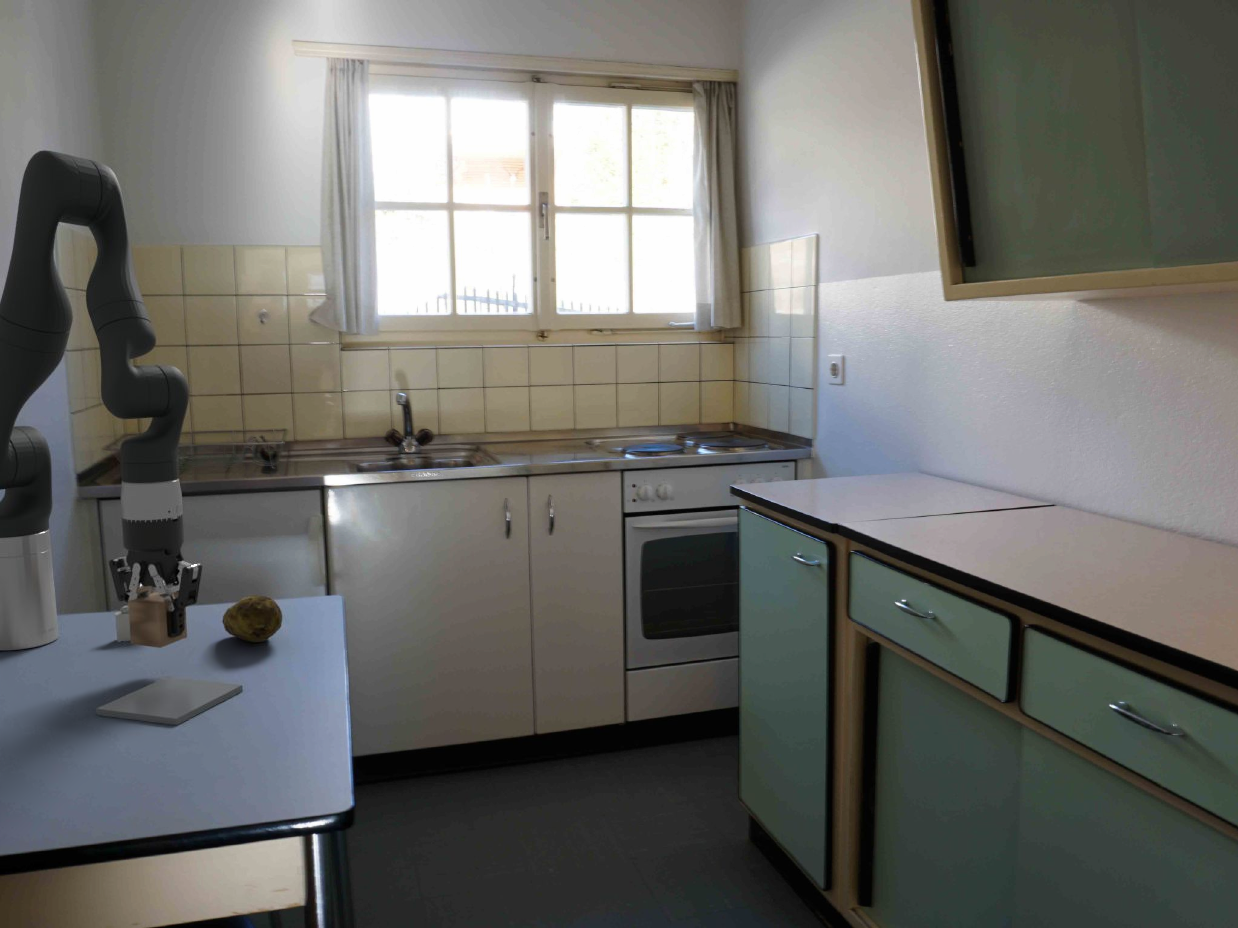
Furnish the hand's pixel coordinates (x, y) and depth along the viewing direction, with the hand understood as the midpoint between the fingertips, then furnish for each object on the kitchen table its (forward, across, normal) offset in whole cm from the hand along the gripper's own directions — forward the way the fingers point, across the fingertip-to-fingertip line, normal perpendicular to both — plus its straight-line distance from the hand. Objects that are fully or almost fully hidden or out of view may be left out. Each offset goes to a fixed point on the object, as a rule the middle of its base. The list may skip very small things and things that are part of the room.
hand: (158, 633), depth 135 cm
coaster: (+5, +10, -9) cm, 14 cm away
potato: (+6, +3, +15) cm, 17 cm away
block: (+1, 0, 0) cm, 1 cm away
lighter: (+6, -16, +13) cm, 21 cm away
